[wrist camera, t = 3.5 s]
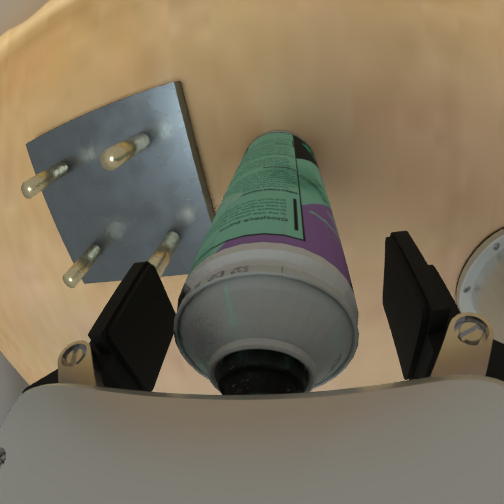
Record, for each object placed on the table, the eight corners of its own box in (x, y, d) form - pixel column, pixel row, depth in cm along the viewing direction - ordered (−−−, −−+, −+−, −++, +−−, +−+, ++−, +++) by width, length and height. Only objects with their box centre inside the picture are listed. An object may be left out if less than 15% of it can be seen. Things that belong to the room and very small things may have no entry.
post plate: (180, 81, 20) (144, 85, 15) (227, 260, 29) (213, 309, 23) (35, 139, 23) (-11, 161, 18) (90, 275, 31) (61, 314, 26)
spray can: (253, 203, 25) (193, 457, 8) (235, 138, 23) (98, 352, 6) (320, 191, 24) (369, 451, 7) (307, 123, 21) (384, 330, 5)
